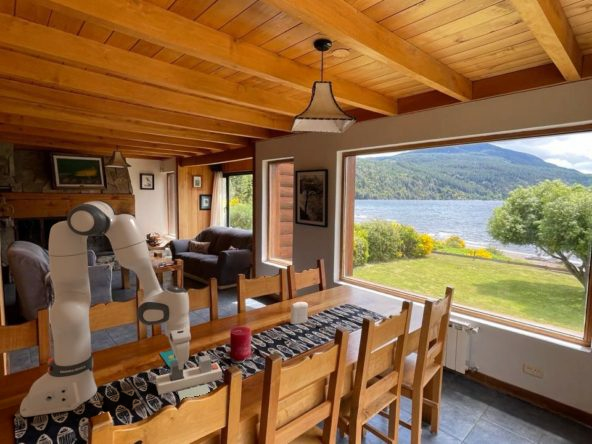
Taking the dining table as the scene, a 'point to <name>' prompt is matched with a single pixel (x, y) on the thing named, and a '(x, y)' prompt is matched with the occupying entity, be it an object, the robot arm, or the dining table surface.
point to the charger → (175, 371)
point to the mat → (193, 391)
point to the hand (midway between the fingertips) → (178, 362)
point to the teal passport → (168, 357)
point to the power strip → (190, 376)
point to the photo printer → (299, 313)
